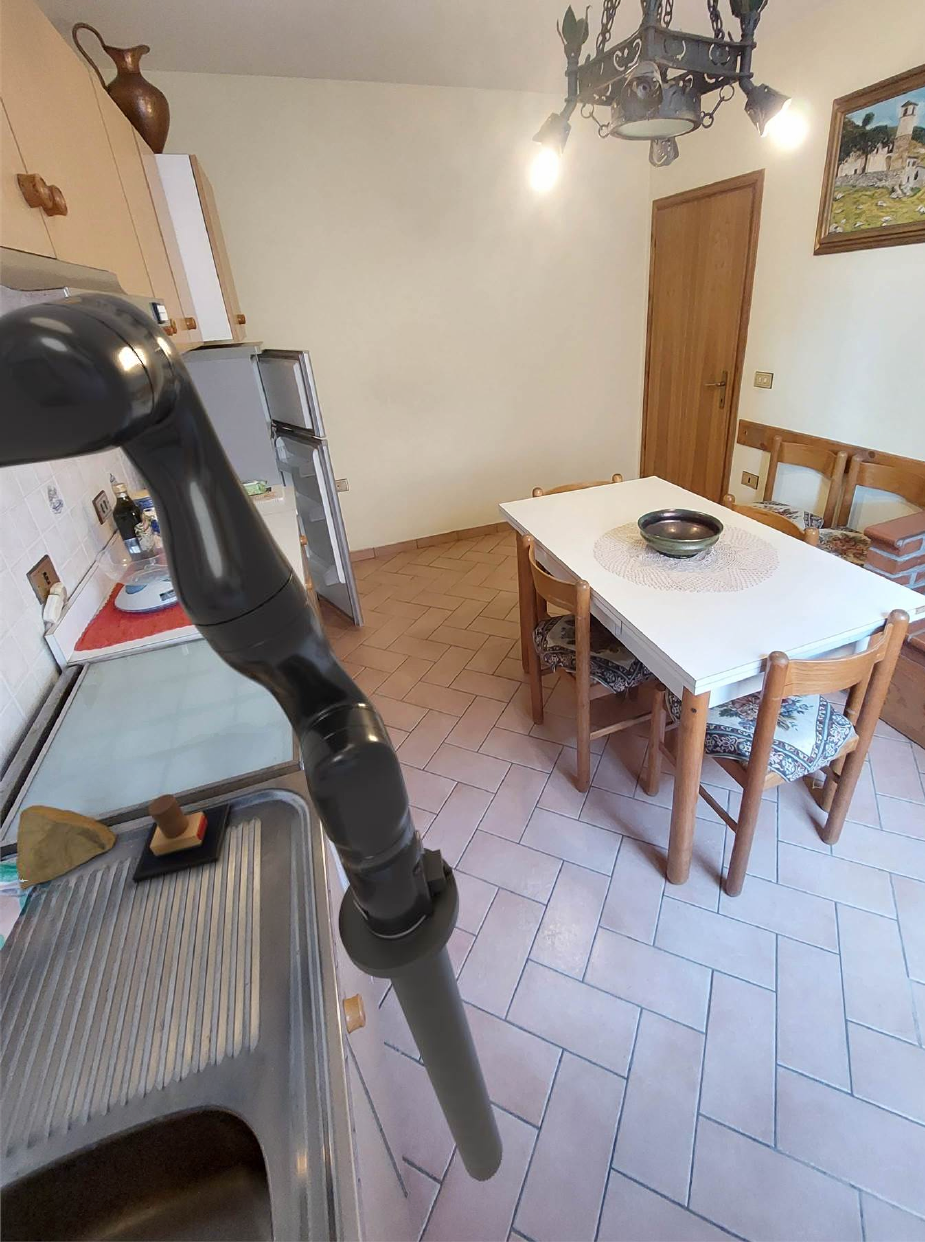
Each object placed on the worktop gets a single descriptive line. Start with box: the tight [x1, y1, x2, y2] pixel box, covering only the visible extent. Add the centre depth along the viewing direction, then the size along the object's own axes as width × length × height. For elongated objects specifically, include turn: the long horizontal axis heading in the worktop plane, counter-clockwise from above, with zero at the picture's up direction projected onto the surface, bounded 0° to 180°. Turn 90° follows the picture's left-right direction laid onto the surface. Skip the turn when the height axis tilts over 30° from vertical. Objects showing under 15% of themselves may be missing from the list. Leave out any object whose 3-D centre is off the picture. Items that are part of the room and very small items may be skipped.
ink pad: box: [131, 803, 232, 884], centre depth 81 cm, size 11×9×1 cm
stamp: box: [148, 793, 208, 857], centre depth 78 cm, size 6×4×8 cm, turn 103°
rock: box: [15, 804, 116, 890], centre depth 78 cm, size 11×9×10 cm
